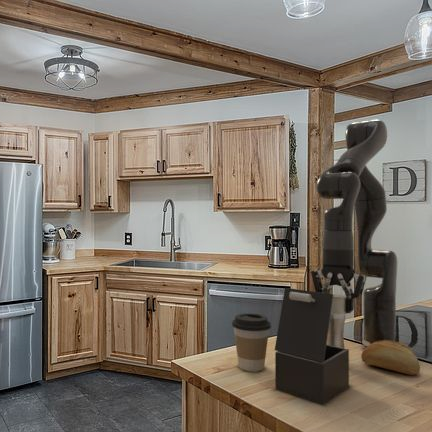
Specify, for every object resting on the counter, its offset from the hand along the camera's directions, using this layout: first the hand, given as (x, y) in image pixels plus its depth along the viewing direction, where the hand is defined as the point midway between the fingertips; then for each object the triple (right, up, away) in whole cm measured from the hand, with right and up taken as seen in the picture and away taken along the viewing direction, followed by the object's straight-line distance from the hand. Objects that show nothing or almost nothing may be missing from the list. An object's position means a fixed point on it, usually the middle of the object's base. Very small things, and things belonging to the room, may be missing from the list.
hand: (337, 310), depth 115 cm
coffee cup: (-20, -20, +13) cm, 31 cm away
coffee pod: (0, 0, 0) cm, 0 cm away
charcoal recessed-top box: (-8, -20, -2) cm, 21 cm away
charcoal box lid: (-11, -2, -5) cm, 12 cm away
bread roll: (+20, -20, +11) cm, 30 cm away
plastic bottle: (+6, -20, +16) cm, 26 cm away
